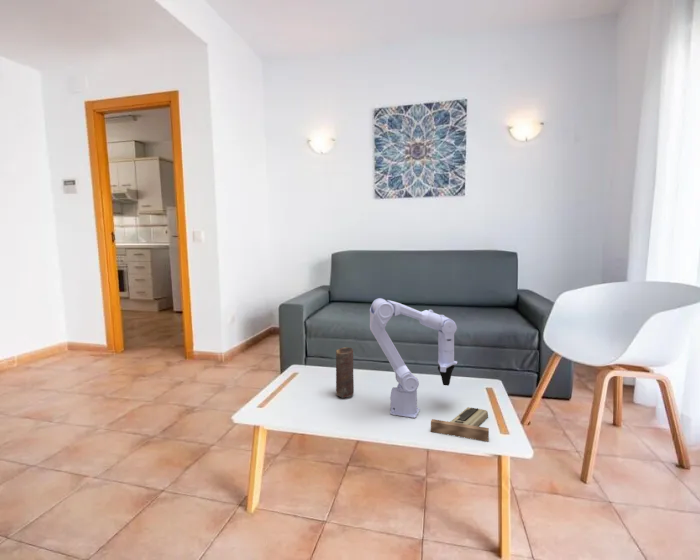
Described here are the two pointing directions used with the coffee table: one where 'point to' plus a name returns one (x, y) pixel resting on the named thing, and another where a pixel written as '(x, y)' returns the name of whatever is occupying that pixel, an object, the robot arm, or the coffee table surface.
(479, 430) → the bar
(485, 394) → the coffee table surface
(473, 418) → the computer
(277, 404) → the coffee table surface
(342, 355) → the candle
